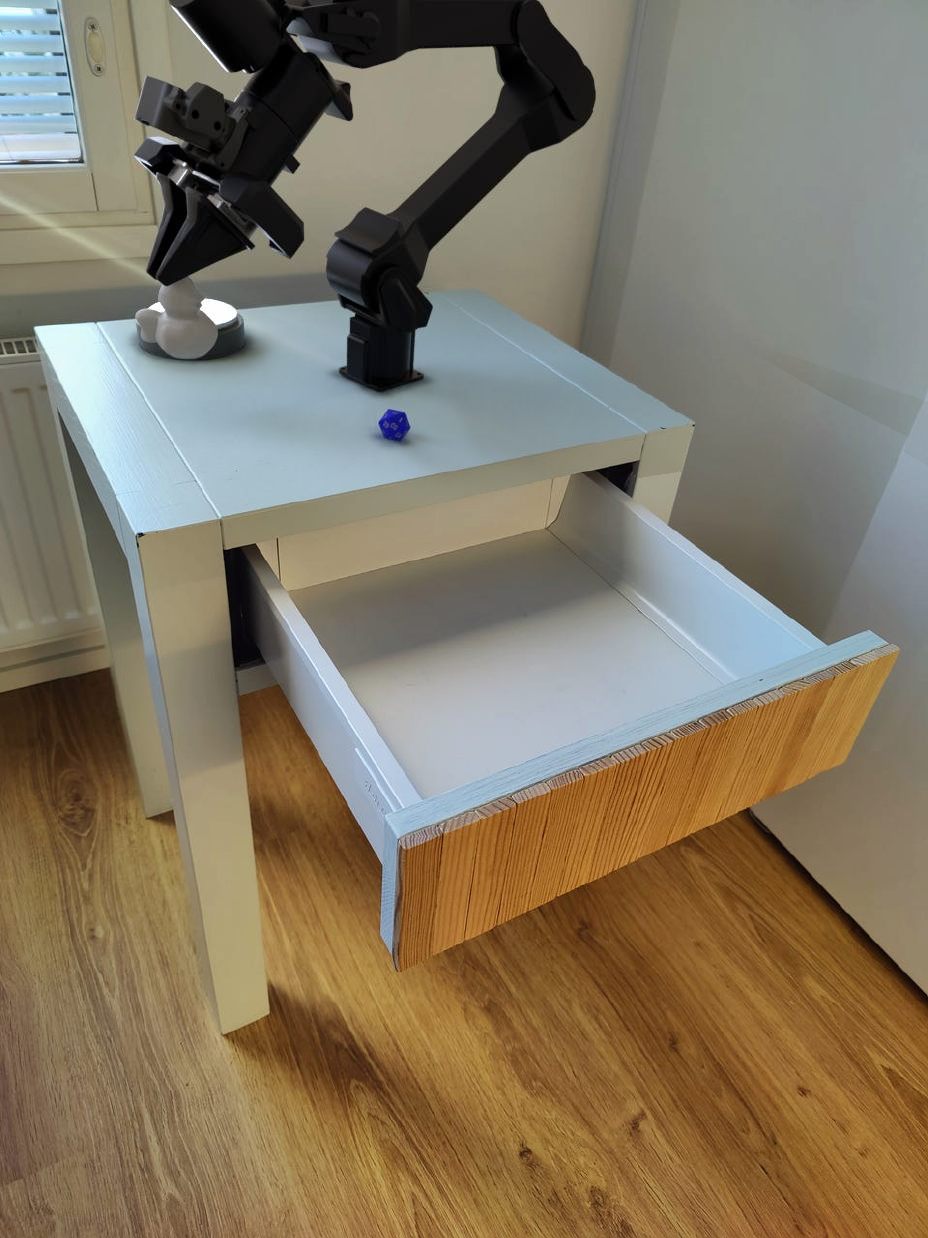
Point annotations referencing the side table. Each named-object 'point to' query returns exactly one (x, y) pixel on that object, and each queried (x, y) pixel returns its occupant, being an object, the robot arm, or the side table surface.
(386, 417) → the die
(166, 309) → the rubber duck
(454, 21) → the robot arm
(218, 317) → the scale
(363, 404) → the side table surface
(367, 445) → the side table surface
